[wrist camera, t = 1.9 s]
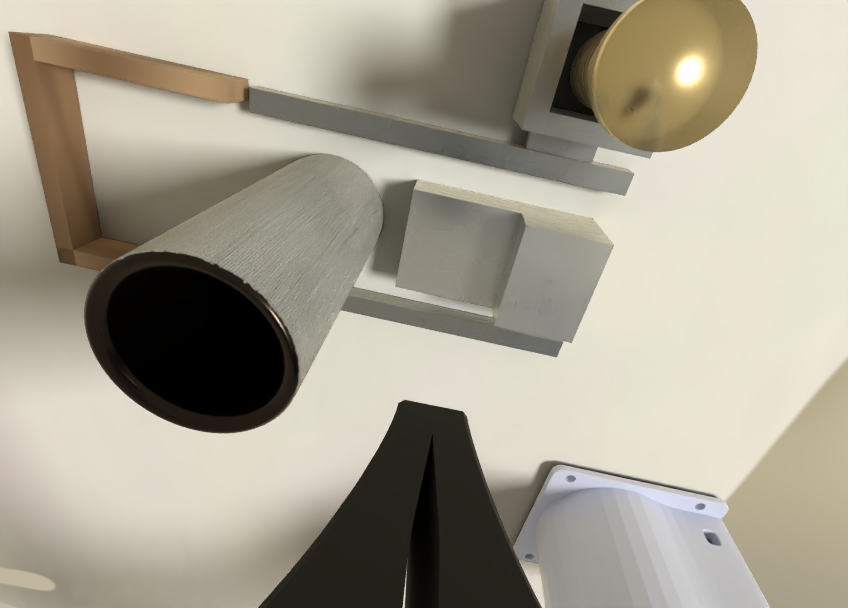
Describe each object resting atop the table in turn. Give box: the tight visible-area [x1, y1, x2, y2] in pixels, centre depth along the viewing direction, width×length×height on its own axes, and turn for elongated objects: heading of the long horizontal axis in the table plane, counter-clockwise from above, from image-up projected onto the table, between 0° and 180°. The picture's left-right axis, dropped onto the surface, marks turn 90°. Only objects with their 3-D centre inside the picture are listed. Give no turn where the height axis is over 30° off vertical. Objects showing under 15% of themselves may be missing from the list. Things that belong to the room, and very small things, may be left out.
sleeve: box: [249, 86, 634, 357], centre depth 18 cm, size 14×8×1 cm, turn 79°
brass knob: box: [570, 0, 757, 152], centre depth 10 cm, size 3×3×5 cm
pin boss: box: [512, 0, 653, 163], centre depth 14 cm, size 4×5×4 cm
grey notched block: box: [395, 180, 614, 343], centre depth 17 cm, size 7×4×3 cm, turn 79°
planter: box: [84, 154, 383, 433], centre depth 14 cm, size 4×4×10 cm
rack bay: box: [9, 32, 248, 271], centre depth 17 cm, size 7×8×2 cm
